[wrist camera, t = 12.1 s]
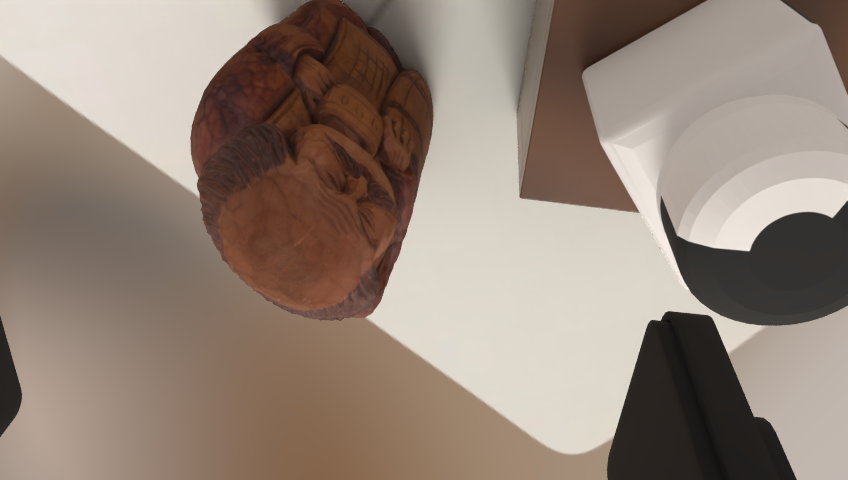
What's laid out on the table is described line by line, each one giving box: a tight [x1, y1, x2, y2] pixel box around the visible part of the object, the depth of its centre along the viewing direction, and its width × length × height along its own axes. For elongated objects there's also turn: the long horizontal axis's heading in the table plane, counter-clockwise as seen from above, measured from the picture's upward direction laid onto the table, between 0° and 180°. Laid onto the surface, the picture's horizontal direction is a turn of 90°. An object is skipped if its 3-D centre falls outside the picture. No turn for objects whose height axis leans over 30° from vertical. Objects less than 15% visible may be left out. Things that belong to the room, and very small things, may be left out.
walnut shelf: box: [517, 0, 848, 213], centre depth 35 cm, size 11×13×10 cm
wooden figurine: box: [190, 0, 433, 321], centre depth 34 cm, size 12×6×18 cm, turn 42°
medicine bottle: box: [582, 0, 848, 326], centre depth 25 cm, size 7×7×12 cm
